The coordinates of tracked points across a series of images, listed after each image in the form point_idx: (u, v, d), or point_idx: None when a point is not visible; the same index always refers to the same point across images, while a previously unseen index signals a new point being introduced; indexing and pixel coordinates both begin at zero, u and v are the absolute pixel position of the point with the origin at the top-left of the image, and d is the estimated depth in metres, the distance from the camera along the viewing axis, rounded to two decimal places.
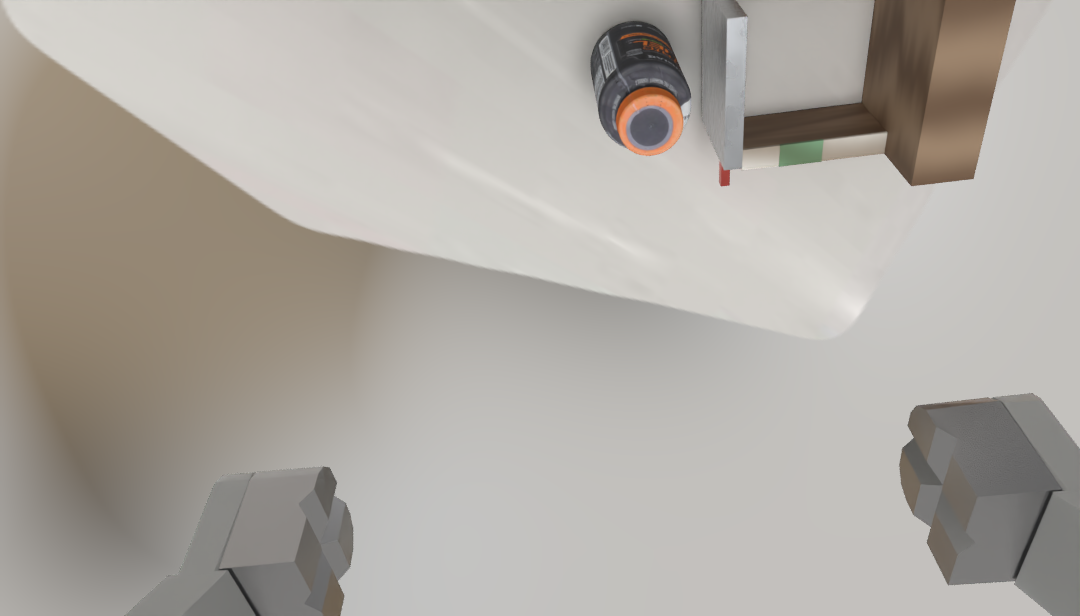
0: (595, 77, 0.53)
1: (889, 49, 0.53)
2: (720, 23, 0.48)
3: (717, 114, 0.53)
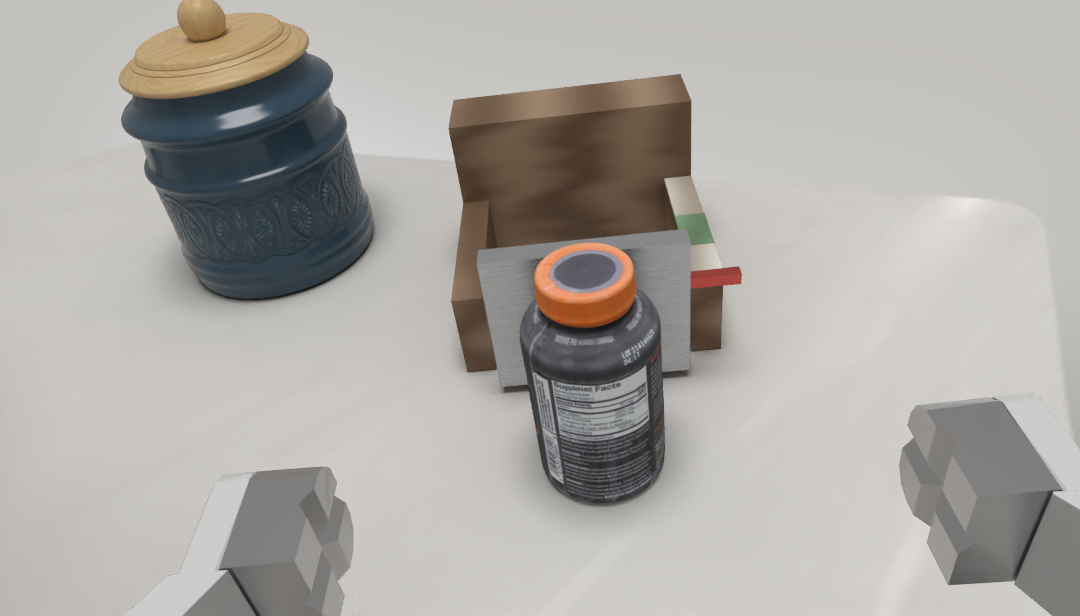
0: (579, 439, 0.33)
1: (579, 211, 0.49)
2: (500, 294, 0.38)
3: None
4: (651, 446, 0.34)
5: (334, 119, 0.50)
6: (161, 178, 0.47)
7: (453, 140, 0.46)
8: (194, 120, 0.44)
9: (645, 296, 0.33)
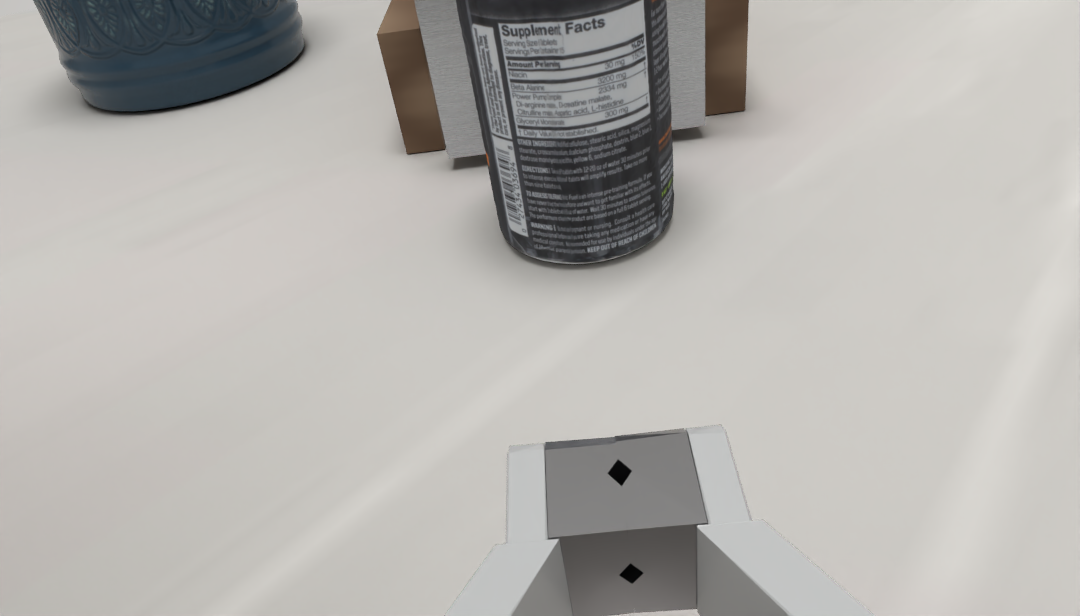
0: (546, 139, 0.22)
1: None
2: None
3: None
4: (654, 167, 0.23)
5: None
6: None
7: None
8: None
9: None
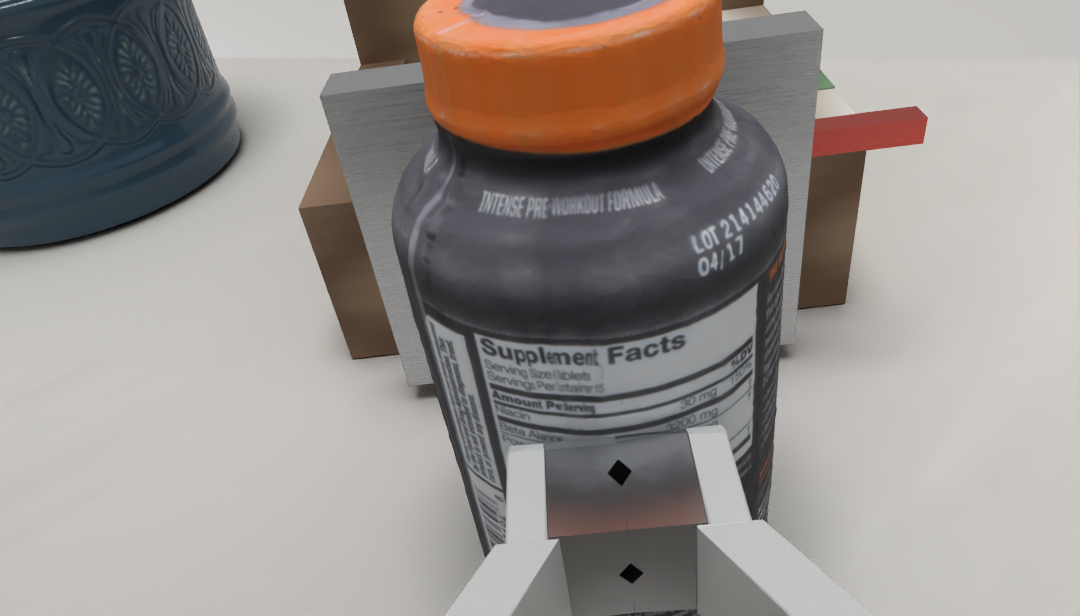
0: None
1: None
2: (384, 175, 0.17)
3: None
4: (751, 513, 0.13)
5: None
6: None
7: None
8: None
9: (737, 105, 0.12)
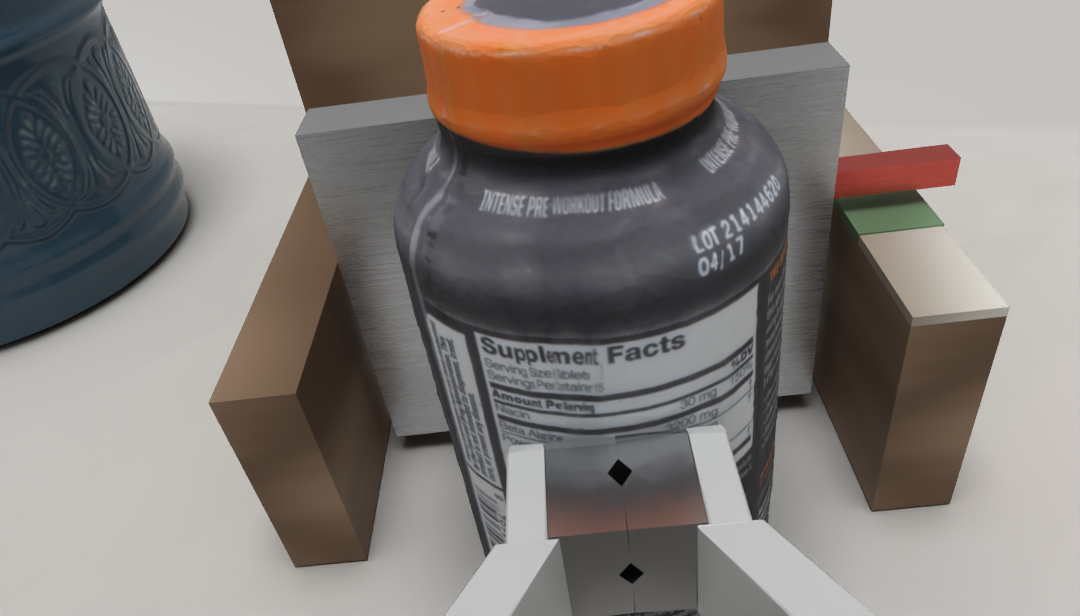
0: None
1: None
2: (367, 219, 0.15)
3: None
4: (751, 514, 0.13)
5: None
6: None
7: None
8: None
9: (739, 106, 0.12)
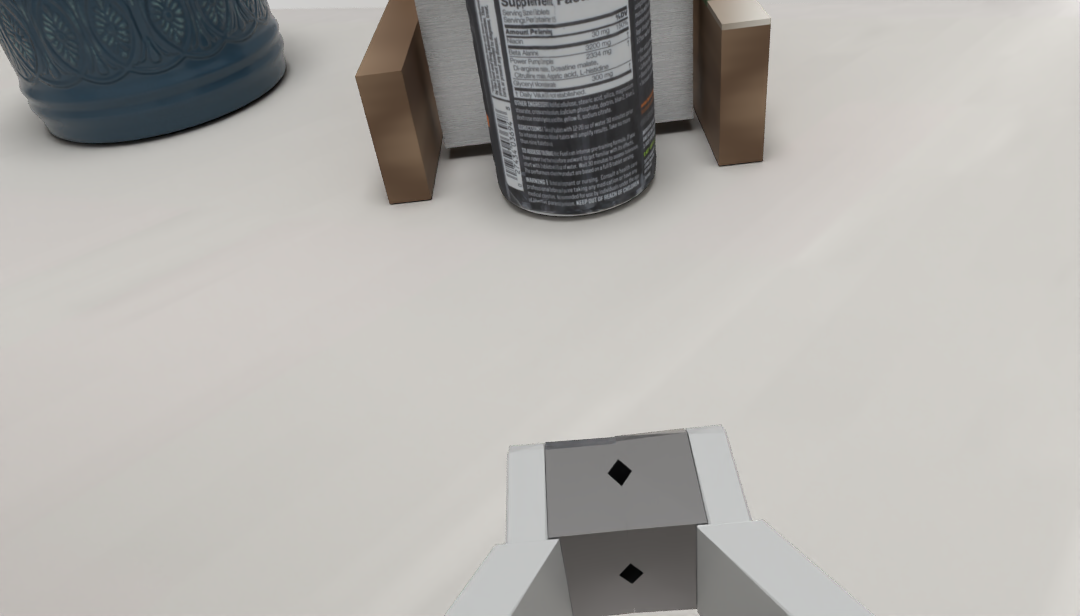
0: (539, 100, 0.25)
1: None
2: None
3: None
4: (637, 128, 0.26)
5: None
6: None
7: None
8: None
9: None
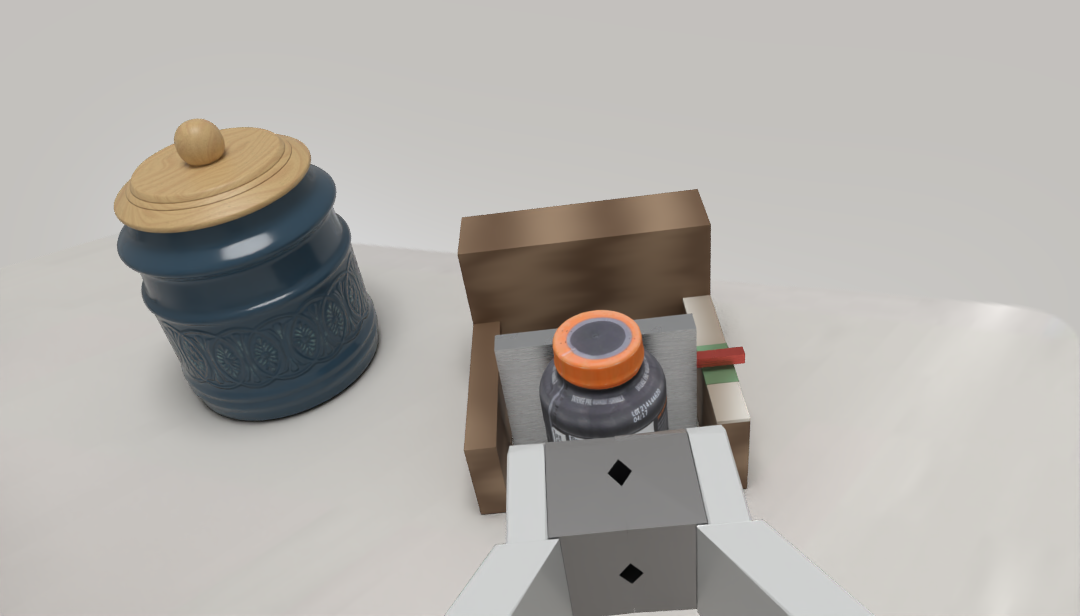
0: None
1: None
2: (516, 377, 0.40)
3: None
4: None
5: (338, 235, 0.49)
6: (158, 306, 0.46)
7: (462, 265, 0.44)
8: (192, 252, 0.42)
9: (652, 357, 0.36)
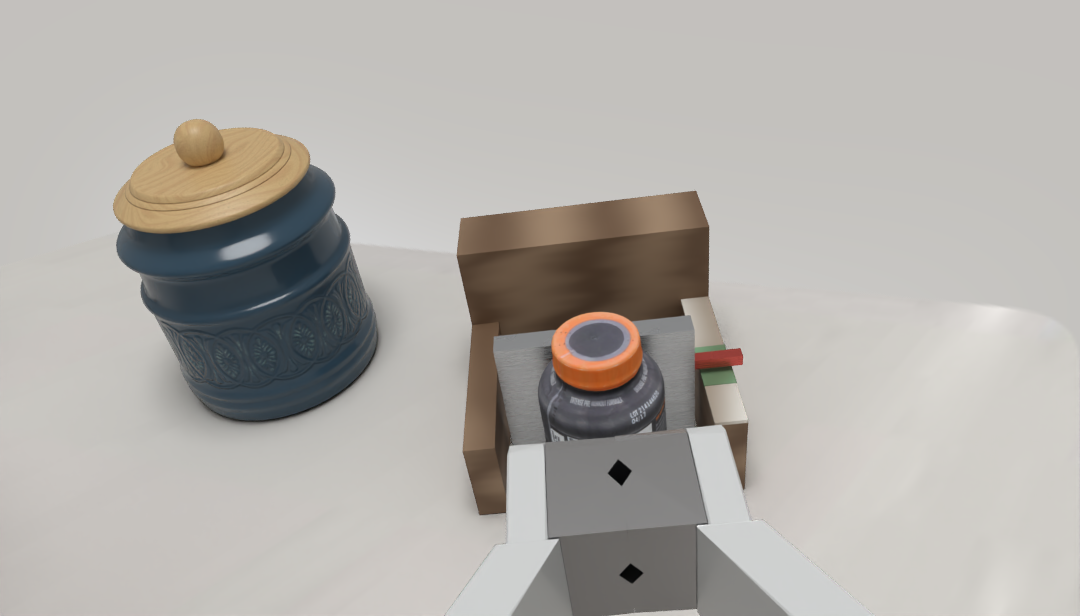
0: None
1: None
2: (515, 378, 0.40)
3: None
4: None
5: (337, 236, 0.49)
6: (158, 306, 0.46)
7: (461, 266, 0.44)
8: (191, 253, 0.43)
9: (650, 359, 0.37)
